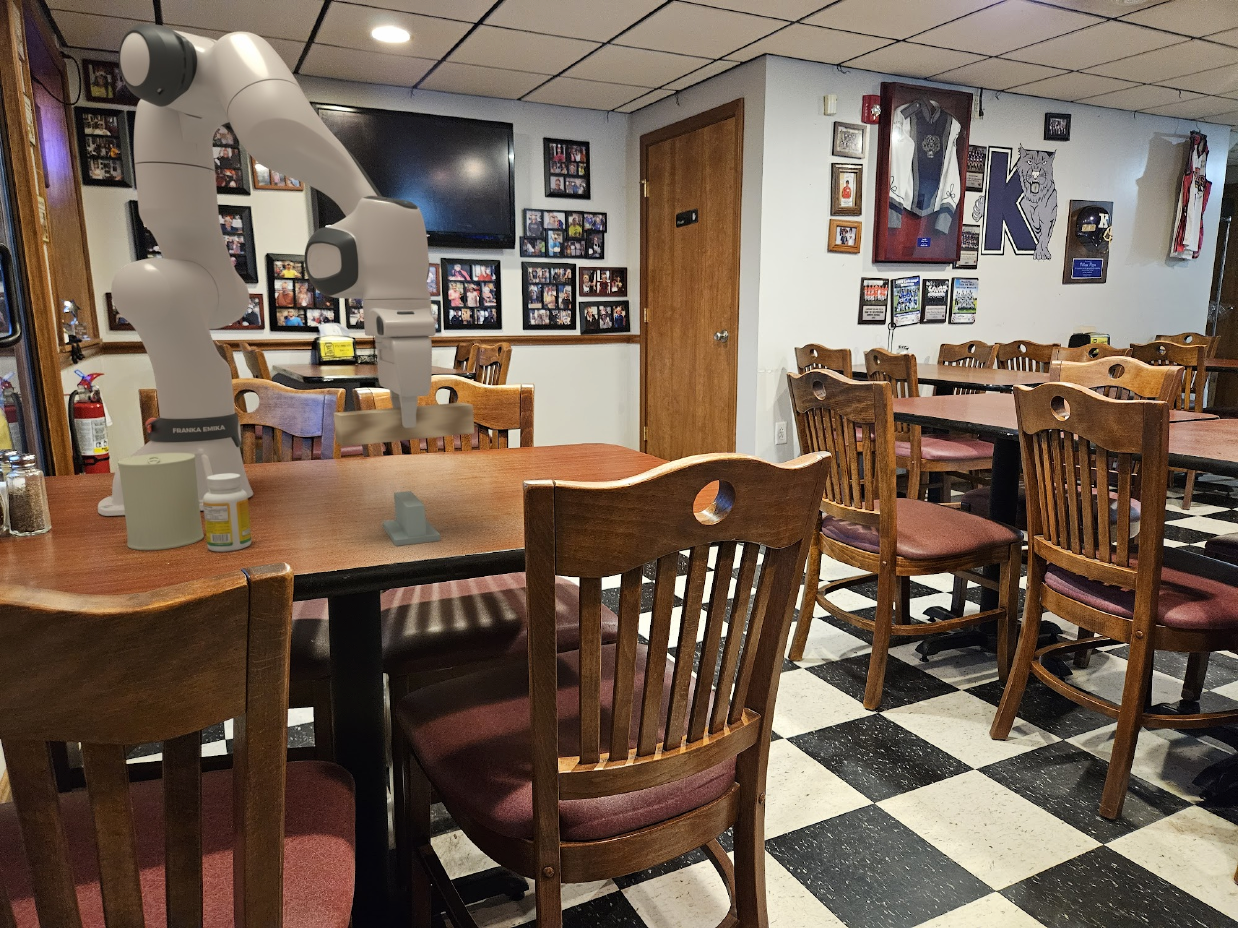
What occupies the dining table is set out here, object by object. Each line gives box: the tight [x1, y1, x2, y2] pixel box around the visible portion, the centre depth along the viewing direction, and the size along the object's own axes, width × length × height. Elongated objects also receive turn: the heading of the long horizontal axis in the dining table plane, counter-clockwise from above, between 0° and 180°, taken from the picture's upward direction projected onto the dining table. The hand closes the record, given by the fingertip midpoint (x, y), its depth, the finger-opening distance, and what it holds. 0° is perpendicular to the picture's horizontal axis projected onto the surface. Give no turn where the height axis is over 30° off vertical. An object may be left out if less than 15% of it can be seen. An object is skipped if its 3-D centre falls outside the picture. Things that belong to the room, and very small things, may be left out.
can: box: [117, 453, 205, 551], centre depth 110 cm, size 9×9×12 cm
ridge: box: [382, 490, 441, 547], centre depth 113 cm, size 6×11×5 cm, turn 25°
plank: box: [333, 402, 475, 447], centre depth 111 cm, size 18×4×4 cm, turn 120°
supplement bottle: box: [203, 473, 252, 553], centre depth 107 cm, size 5×5×10 cm
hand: (405, 424), depth 111 cm, fingers closed on plank, 4 cm apart
